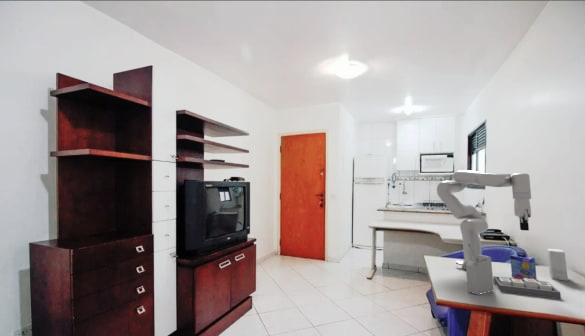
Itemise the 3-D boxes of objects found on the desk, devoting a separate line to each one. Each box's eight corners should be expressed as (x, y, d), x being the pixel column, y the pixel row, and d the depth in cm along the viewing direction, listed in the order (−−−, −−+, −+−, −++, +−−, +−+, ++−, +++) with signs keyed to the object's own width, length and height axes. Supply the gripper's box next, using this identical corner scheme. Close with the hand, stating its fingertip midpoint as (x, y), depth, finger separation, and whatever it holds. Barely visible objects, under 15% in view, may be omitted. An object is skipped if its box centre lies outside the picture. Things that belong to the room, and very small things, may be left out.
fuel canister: (474, 296, 128) (470, 244, 129) (464, 292, 132) (461, 242, 134) (494, 291, 134) (490, 241, 135) (483, 287, 138) (480, 239, 140)
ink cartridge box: (511, 276, 153) (509, 251, 154) (515, 274, 155) (513, 249, 156) (532, 281, 144) (530, 254, 145) (537, 279, 147) (534, 253, 148)
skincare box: (568, 281, 143) (565, 252, 144) (551, 279, 147) (549, 250, 148) (564, 276, 150) (562, 249, 151) (548, 274, 154) (546, 247, 155)
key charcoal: (540, 291, 130) (540, 284, 130) (537, 287, 134) (536, 281, 134) (552, 292, 128) (551, 285, 128) (548, 288, 132) (547, 282, 132)
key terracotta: (514, 287, 134) (513, 281, 134) (511, 284, 138) (510, 278, 139) (524, 289, 132) (524, 282, 133) (521, 285, 137) (521, 279, 137)
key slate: (501, 286, 137) (501, 280, 137) (499, 283, 141) (498, 277, 141) (511, 287, 135) (511, 281, 135) (509, 284, 139) (508, 278, 139)
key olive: (527, 287, 132) (526, 280, 132) (523, 283, 136) (523, 277, 136) (538, 288, 130) (537, 281, 130) (534, 285, 134) (533, 278, 135)
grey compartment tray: (500, 291, 133) (499, 285, 133) (493, 281, 146) (493, 276, 146) (560, 298, 123) (560, 292, 123) (548, 287, 135) (547, 282, 135)
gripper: (509, 195, 151) (511, 227, 150) (517, 196, 137) (520, 232, 136) (525, 195, 147) (528, 228, 146) (536, 196, 134) (539, 233, 133)
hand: (524, 230), depth 141 cm, fingers closed
